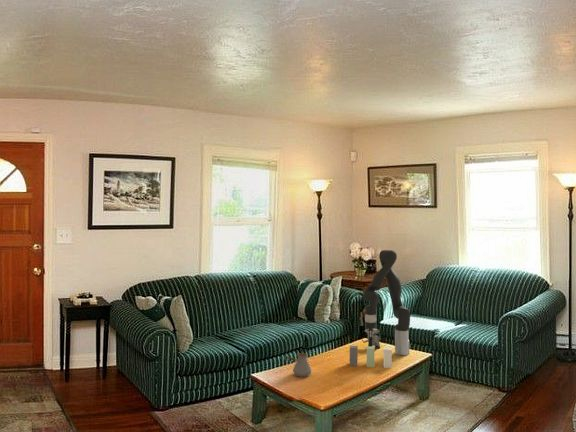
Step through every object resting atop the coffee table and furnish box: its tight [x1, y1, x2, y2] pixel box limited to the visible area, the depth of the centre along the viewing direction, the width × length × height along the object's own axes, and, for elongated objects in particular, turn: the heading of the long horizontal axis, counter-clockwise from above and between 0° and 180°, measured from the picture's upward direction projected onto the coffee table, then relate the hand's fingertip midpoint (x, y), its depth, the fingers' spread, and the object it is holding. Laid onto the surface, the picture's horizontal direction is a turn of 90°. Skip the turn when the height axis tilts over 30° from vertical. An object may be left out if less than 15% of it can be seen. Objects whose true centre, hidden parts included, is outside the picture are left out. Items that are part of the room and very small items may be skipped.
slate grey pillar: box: [349, 345, 359, 367], centre depth 333 cm, size 5×5×12 cm
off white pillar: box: [382, 346, 393, 369], centre depth 329 cm, size 5×5×12 cm
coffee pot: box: [285, 352, 312, 378], centre depth 309 cm, size 21×12×15 cm, turn 139°
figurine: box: [361, 328, 381, 349], centre depth 369 cm, size 9×12×15 cm
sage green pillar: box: [366, 345, 376, 368], centre depth 331 cm, size 5×5×12 cm
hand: (370, 346), depth 341 cm, fingers closed
